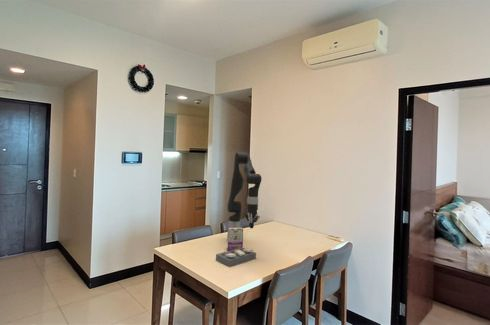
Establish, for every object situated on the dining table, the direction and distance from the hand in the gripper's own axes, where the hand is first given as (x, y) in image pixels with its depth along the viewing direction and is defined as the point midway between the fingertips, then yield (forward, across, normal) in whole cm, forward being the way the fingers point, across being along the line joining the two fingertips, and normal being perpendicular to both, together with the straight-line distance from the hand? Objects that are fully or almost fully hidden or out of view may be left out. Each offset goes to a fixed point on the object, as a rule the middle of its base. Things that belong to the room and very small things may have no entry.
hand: (251, 228), depth 188 cm
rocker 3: (+16, +2, 0) cm, 16 cm away
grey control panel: (+21, +5, +8) cm, 23 cm away
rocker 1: (+16, +2, +16) cm, 23 cm away
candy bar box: (+22, +20, -4) cm, 30 cm away
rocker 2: (+16, +2, +8) cm, 18 cm away
